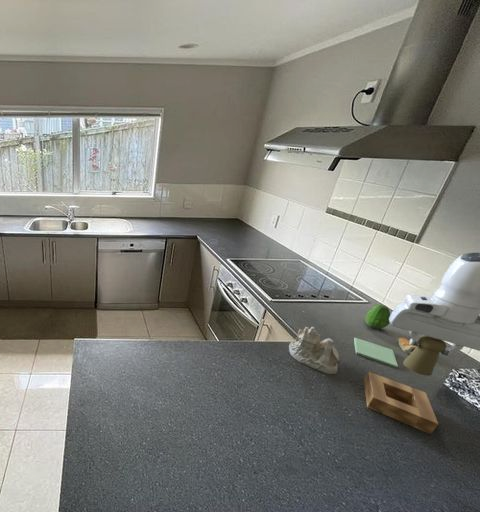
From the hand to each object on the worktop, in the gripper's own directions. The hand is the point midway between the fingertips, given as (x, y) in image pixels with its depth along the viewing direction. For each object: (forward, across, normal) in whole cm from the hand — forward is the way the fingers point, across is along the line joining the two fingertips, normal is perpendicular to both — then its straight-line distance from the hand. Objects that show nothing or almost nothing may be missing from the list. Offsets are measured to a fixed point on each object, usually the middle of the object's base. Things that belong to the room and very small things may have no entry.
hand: (428, 349), depth 82 cm
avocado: (+23, 0, -54) cm, 58 cm away
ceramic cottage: (+23, +22, -10) cm, 33 cm away
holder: (+23, 0, 0) cm, 23 cm away
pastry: (+23, -10, -42) cm, 49 cm away
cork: (+7, 0, 0) cm, 7 cm away
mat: (+23, +2, -30) cm, 37 cm away
